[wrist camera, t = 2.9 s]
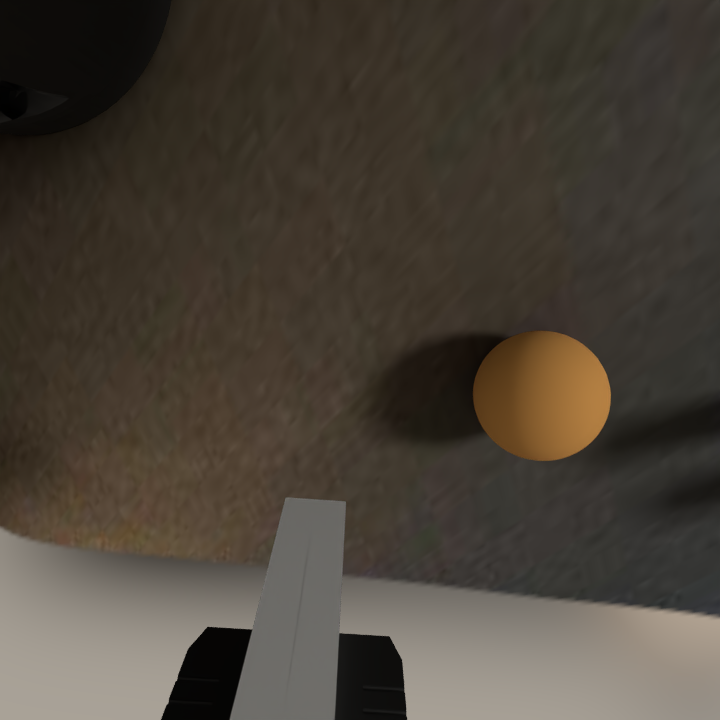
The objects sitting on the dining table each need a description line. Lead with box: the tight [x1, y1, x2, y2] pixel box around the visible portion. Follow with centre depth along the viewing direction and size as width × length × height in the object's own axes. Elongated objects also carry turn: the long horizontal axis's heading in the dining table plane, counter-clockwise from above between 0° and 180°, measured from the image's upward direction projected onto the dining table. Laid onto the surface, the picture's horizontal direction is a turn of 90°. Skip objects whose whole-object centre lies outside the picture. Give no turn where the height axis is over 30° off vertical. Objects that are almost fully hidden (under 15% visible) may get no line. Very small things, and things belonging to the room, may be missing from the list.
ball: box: [473, 331, 611, 461], centre depth 24 cm, size 6×6×6 cm
